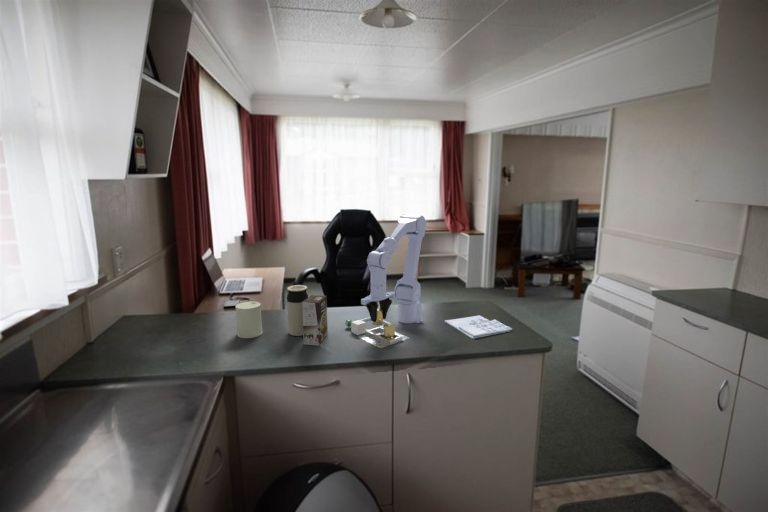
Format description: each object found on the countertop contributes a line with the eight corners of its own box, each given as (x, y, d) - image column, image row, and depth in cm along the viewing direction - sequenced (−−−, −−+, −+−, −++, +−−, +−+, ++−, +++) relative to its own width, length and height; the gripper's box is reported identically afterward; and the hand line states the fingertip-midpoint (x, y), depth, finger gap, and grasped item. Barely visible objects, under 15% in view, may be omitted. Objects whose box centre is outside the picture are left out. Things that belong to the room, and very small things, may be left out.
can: (267, 331, 161) (265, 301, 158) (250, 340, 152) (248, 308, 150) (249, 327, 164) (247, 299, 162) (232, 336, 156) (229, 305, 154)
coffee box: (320, 346, 147) (318, 302, 144) (303, 344, 148) (301, 301, 145) (328, 336, 156) (327, 295, 152) (312, 335, 157) (310, 294, 154)
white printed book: (472, 340, 153) (472, 335, 153) (443, 322, 171) (443, 318, 171) (513, 332, 161) (513, 327, 160) (481, 316, 179) (481, 311, 178)
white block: (359, 332, 159) (359, 319, 158) (366, 335, 156) (366, 322, 155) (351, 334, 157) (351, 321, 156) (357, 338, 154) (357, 324, 153)
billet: (379, 321, 156) (378, 307, 155) (385, 323, 153) (384, 309, 152) (370, 323, 154) (369, 309, 153) (376, 326, 150) (375, 311, 150)
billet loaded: (389, 336, 152) (389, 322, 151) (396, 340, 149) (397, 325, 148) (381, 339, 149) (381, 325, 148) (388, 343, 146) (388, 328, 145)
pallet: (386, 330, 161) (386, 324, 160) (409, 341, 151) (409, 334, 151) (357, 340, 152) (357, 333, 152) (380, 351, 142) (380, 344, 142)
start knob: (351, 325, 163) (350, 318, 162) (361, 330, 157) (361, 323, 157) (345, 326, 161) (345, 320, 160) (355, 332, 156) (355, 325, 155)
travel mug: (313, 332, 160) (312, 287, 156) (296, 338, 154) (294, 291, 150) (301, 327, 165) (299, 283, 161) (284, 332, 159) (282, 287, 156)
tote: (373, 319, 174) (373, 315, 174) (392, 327, 165) (392, 323, 164) (349, 326, 166) (349, 322, 166) (368, 334, 157) (368, 331, 157)
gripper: (386, 278, 157) (386, 312, 160) (355, 285, 148) (356, 321, 151) (398, 282, 152) (398, 317, 155) (367, 289, 143) (368, 326, 146)
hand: (378, 319), depth 153 cm, fingers closed on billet, 4 cm apart
